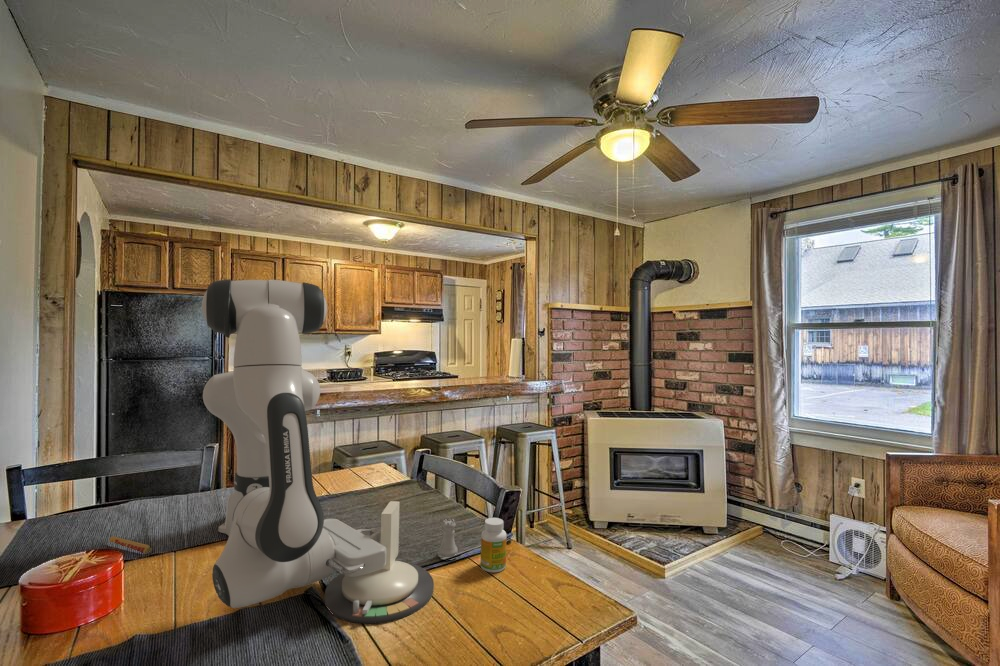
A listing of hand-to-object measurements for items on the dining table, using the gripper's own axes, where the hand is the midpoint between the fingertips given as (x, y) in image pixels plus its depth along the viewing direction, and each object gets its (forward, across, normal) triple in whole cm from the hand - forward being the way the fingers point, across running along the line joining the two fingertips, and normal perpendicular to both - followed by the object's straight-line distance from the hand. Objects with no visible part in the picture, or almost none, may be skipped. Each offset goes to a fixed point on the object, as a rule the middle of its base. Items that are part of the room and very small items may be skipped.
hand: (380, 533), depth 97 cm
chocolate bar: (-34, +47, +9) cm, 59 cm away
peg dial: (-4, -6, +7) cm, 10 cm away
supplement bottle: (+18, -15, +8) cm, 25 cm away
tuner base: (-4, -6, +8) cm, 11 cm away
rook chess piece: (+14, -5, +8) cm, 17 cm away
